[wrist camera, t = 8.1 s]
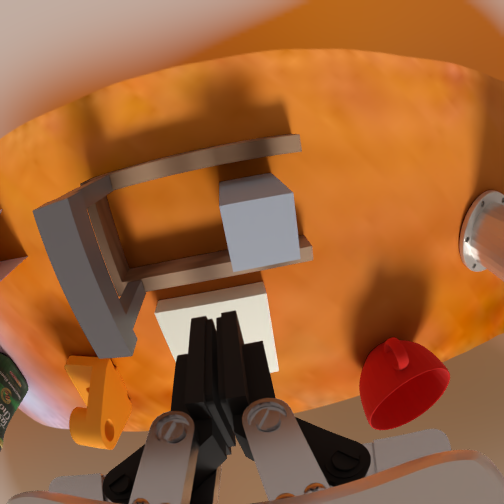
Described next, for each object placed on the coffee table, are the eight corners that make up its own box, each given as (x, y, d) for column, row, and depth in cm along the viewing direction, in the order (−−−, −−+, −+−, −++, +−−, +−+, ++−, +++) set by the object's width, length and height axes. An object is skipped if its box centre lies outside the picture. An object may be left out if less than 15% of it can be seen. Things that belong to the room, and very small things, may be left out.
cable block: (271, 172, 28) (293, 192, 20) (278, 221, 30) (300, 258, 22) (219, 181, 28) (219, 206, 19) (229, 230, 30) (233, 272, 21)
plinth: (263, 281, 32) (266, 293, 30) (275, 357, 37) (279, 370, 35) (158, 300, 32) (154, 313, 30) (187, 372, 37) (186, 385, 35)
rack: (291, 133, 26) (299, 134, 24) (305, 247, 31) (313, 260, 29) (92, 177, 26) (80, 183, 23) (125, 282, 31) (118, 296, 28)
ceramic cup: (411, 287, 35) (453, 331, 26) (420, 358, 42) (447, 398, 33) (328, 333, 37) (355, 389, 28) (355, 394, 44) (375, 440, 34)
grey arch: (116, 172, 23) (67, 198, 14) (152, 291, 28) (132, 356, 19) (87, 181, 23) (32, 210, 14) (126, 296, 28) (99, 358, 19)
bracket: (68, 351, 34) (39, 414, 23) (111, 353, 35) (88, 423, 24) (93, 398, 39) (76, 457, 28) (133, 401, 39) (121, 464, 28)
